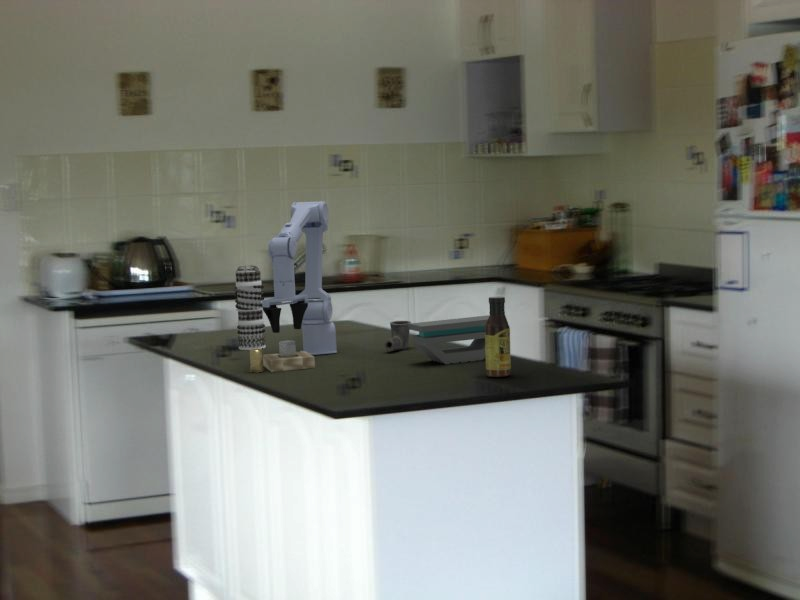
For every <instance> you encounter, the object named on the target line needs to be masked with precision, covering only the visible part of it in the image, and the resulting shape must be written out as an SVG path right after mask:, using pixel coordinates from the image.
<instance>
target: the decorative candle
mask: <svg viewBox="0 0 800 600" xmlns="http://www.w3.org/2000/svg"><path fill="white" fill-rule="evenodd" d="M261 272H262V270H261V269H259V267H258V266H257V265H240V266H238V267H237V269H236V270H235V287H234V288H233V291H234V293H233V294H234V295H233V296H234V297H235V298H236V299H235V300H234V303H236V304H235V308H236V309H235V310H236V312H237V326H236V328H237V329H238V330H237V334H238V336H237V340H238V342H237V344H238V345H239V346H238V350H241V351H250V350H251V349H262V348H263V349H265V348H266V347H267V345H266V343H267V340H266V334H264V333H265V332H266V329H264V328H265V327H266V324H265V321H264V314H263V312H264V311H263V307H262V300H265V297H263V295H265V292H264V291H262V290H263V289H264V288H265V285H262V284H263V283H262V279H261ZM263 349H262V350H263Z"/></svg>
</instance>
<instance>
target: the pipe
mask: <svg viewBox="0 0 800 600" xmlns="http://www.w3.org/2000/svg"><path fill="white" fill-rule="evenodd" d="M410 323H412V321H410V320H396V321H391V322H389V325H390V330H391V331H390V332H391V338H390V337H388V338H386V339H385V341H384V348H385V350H386V351H387V352H395V351H400V350H401V349H402V350H407V349H408V347H409V337H410V329H409V324H410Z"/></svg>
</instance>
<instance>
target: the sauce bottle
mask: <svg viewBox="0 0 800 600" xmlns="http://www.w3.org/2000/svg"><path fill="white" fill-rule="evenodd" d="M505 304H506V297H505V296H489V297H488V305H489V315H490V316H489V318H488V320H487V322H486V325H485V332H486V334H485V355H486V357H485V370H486V375H487V377H489V378H501V377H503V378H504V377H508V376H510V374H511V368H512V365H511V358H512V357H511V327H510V325H509V322H508V319H507V316H506V314H505Z"/></svg>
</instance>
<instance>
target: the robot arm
mask: <svg viewBox="0 0 800 600" xmlns="http://www.w3.org/2000/svg"><path fill="white" fill-rule="evenodd" d="M328 208H329V207H328V204H327V203H326V202H325V200H320V201H293V203H292V204H291V206H290V211H289V212H290V218H291V219H290V221H289V222H286V223H285V224H284V225H283V226H282V227H281V230H280V231H279V232H278V234H277V236H276V237H273V238H271V239H270V240H269V241H268V255H269V259H270V265H272V275H273V276H272V277H273V279H272V280H273V291H274V294H273V295H274V296H273V297H271V298H267V299H264V300H261V301H262V307H263V310H262V312H264V314H265V316H266V317H267V319H268V322H269V324H270V327H271V331H272V333H276V334H279V333H280V331H281V326H280V325H281V324H280V320H281V319H280V318H281V317H280V316H281V313H282V308H281V307H278V306H284V305H289V307H290V311H291V315H292V324H293V325H292V326H293V329H294V330H301V329H302V345H303V347H302V349H303V350H302V349H301V350H299V352H301V351H306V352H307V353H309V354H311V355H312V356H316V355H327V354H337V353H338V351H337V350H338V349H337V333H336V332H337V330H336V326H335V323H334V322H333V321H331V320H332V316H333V304H332V297H331V295H330V294H329V293H328V292H326V290H323V288H322V287H323V286H322V285H323V239H324V238H323V237H324V233H325V232H326V231H328V229H329V209H328ZM303 233H304V234H305V273H304V274H305V275H304V276H305V278H304V279H305V280H304V281H305V283H304V287H305V288H304V289H303V290H302V291H301V292H300V293H299V294H296V283H295V282H296V280H295V278H296V277H295V265H294V264H295V263H294V262H295V261H294V260H295V257H296V254H297V250H298V243H299V241H300V239H301V237H302V235H303Z"/></svg>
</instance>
